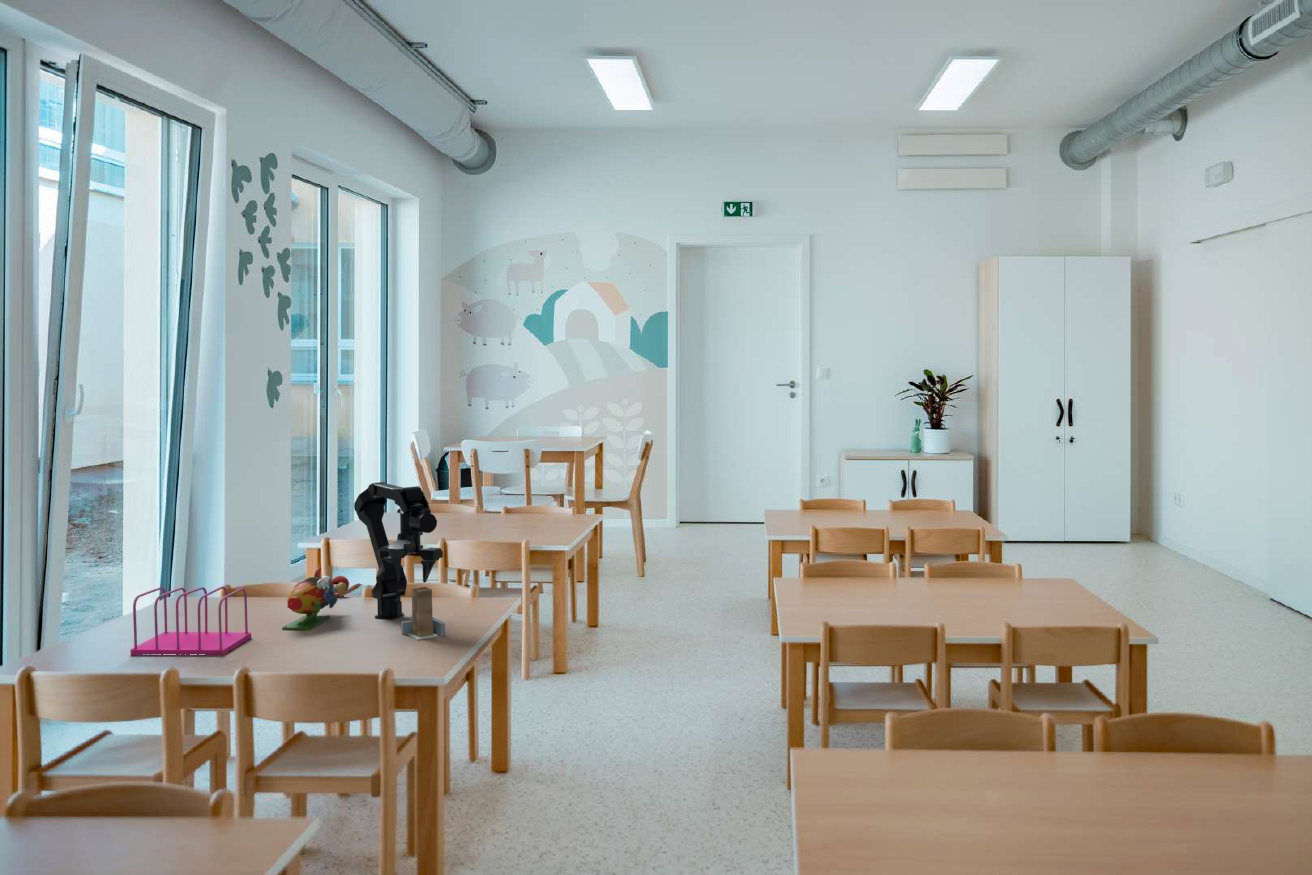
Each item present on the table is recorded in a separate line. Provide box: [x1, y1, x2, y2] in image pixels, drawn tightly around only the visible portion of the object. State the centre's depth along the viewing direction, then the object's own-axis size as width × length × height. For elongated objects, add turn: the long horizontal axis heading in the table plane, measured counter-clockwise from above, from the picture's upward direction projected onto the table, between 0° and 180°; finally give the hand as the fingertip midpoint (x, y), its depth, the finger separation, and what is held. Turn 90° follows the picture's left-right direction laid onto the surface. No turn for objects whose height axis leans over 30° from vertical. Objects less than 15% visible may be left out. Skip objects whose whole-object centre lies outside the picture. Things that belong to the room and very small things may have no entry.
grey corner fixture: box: [400, 616, 446, 641], centre depth 276 cm, size 9×10×4 cm
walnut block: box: [411, 586, 434, 637], centre depth 275 cm, size 5×4×13 cm
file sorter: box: [130, 586, 252, 656], centre depth 265 cm, size 17×25×16 cm
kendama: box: [331, 575, 350, 598], centre depth 324 cm, size 8×6×18 cm
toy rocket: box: [282, 566, 340, 632], centre depth 290 cm, size 14×25×15 cm, turn 174°
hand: (411, 581), depth 287 cm, fingers open, 9 cm apart
